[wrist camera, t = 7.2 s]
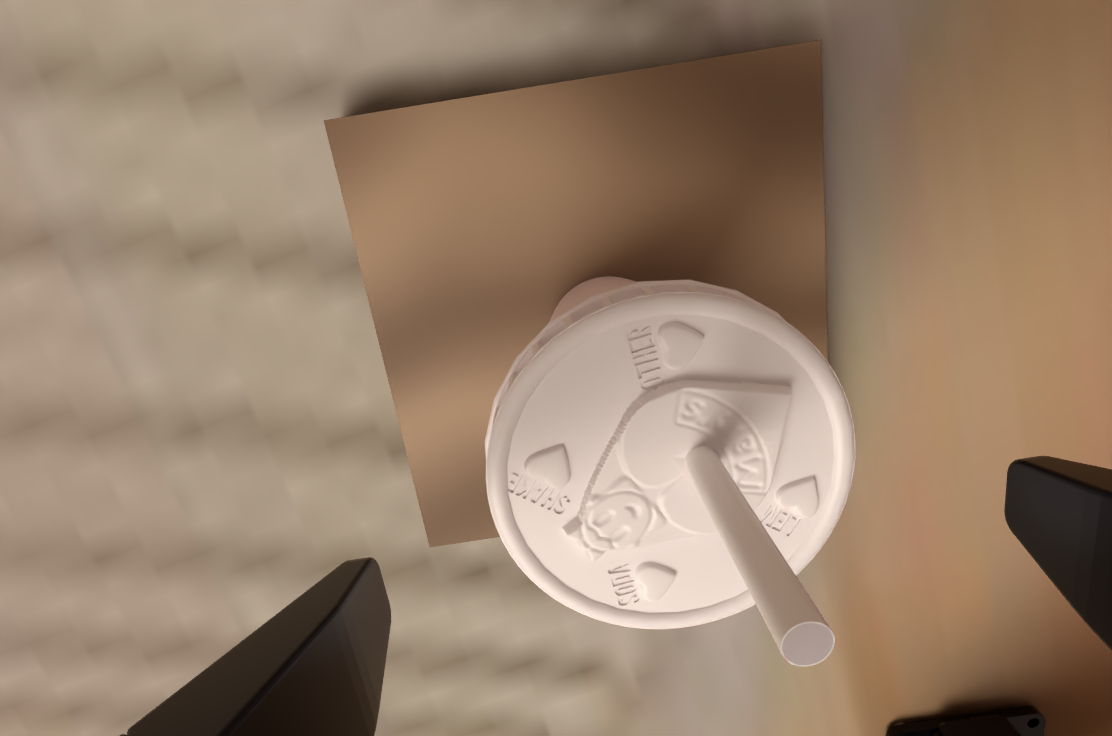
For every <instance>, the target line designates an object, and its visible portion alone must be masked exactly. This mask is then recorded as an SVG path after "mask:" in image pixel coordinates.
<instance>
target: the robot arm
mask: <svg viewBox="0 0 1112 736" xmlns="http://www.w3.org/2000/svg"><path fill="white" fill-rule="evenodd" d="M1005 518H1006V521H1007V524H1008V526H1009V528H1010V530H1011V531H1012V533H1013V534H1014V535H1015V536H1016V537H1017V539H1018V540H1019V541H1020V542H1021V544H1022V545H1023V546H1024V547H1025V549H1026V550H1027V551H1028V552H1029V554H1030V555H1031V556H1032V557H1033V559H1034V560H1035V561H1036V562H1037V564H1038V565H1039V566H1040V567H1041V569H1042V570H1043V571H1044V572H1045V574H1046V575H1047V576H1048V577H1049V578H1050V580H1051V581H1052V582H1053V583H1054V585H1055V586H1056V587H1057V588H1058V590H1059V591H1060V592H1061V593H1062V595H1063V596H1064V597H1065V598H1066V600H1067V601H1068V602H1069V603H1070V605H1071V606H1072V607H1073V608H1074V609H1075V611H1076V612H1077V613H1078V614H1079V615H1080V616H1081V618H1082V619H1083V620H1084V621H1085V622H1086V623H1087V625H1088V626H1089V627H1090V628H1091V629H1092V630H1093V631H1094V632H1095V633H1096V634H1097V635H1098V636H1099V638H1100V639H1101V640H1102V641H1103V642H1104V643H1105V644H1106V645H1107V646H1108V647H1109V648H1110V649H1111V650H1112V470H1111V469H1107V468H1102V467H1097V466H1092V465H1087V464H1083V463H1078V462H1073V461H1068V460H1063V459H1059V458H1054V457H1049V456H1036V457H1030V458H1023V459H1018V460H1015V461H1013V462H1012V463H1011V464H1010V466H1009V468H1008V472H1007V484H1006V498H1005ZM390 626H391V609H390V604H389V600H388V596H387V593H386V589H385V586H384V582H383V578H382V575H381V571H380V568H379V565H378V563H377V561H376V560H375V559H374V558H362V559H355V560H348V561H346V562H344V563H342V564H341V565H340V566H338V567H337V568H336V569H335V570H333V571H332V572H331V573H329V574H328V575H327V576H326V577H324V578H323V579H322V580H320V581H319V582H318V583H316V584H315V585H314V586H313V587H311V588H310V589H309V590H307V591H306V592H305V593H304V594H302V595H301V596H300V597H298V598H297V599H296V600H294V601H293V602H292V603H291V604H289V605H288V606H287V607H285V608H284V609H283V610H282V611H280V612H279V613H278V614H276V615H275V616H274V617H272V618H271V619H270V620H269V621H267V622H266V623H265V624H263V625H262V626H261V627H260V628H258V629H257V630H256V631H254V632H253V633H252V634H251V635H249V636H248V637H247V638H245V639H244V640H243V641H241V642H240V643H239V644H238V645H236V646H235V647H234V648H232V649H231V650H230V651H229V652H227V653H226V654H225V655H223V656H222V657H221V658H219V659H218V660H217V661H216V662H214V663H213V664H212V665H210V666H209V667H208V668H207V669H205V670H204V671H203V672H201V673H200V674H199V675H198V676H196V677H195V678H194V679H192V680H191V681H190V682H188V683H187V684H186V685H185V686H183V687H182V688H181V689H179V690H178V691H177V692H176V693H174V694H173V695H172V696H170V697H169V698H168V699H166V700H165V701H164V702H163V703H161V704H160V705H159V706H157V707H156V708H155V709H154V710H152V711H151V712H150V713H148V714H147V715H146V716H144V717H143V718H142V719H141V720H139V721H138V722H137V723H135V724H134V725H133V726H132V727H130V728H129V729H128V731H127V735H126V734H121V735H120V736H374V734H375V730H376V725H377V719H378V713H379V707H380V699H381V692H382V684H383V677H384V670H385V662H386V655H387V648H388V640H389V633H390ZM1044 729H1045V718H1044V716H1043V715H1042V714H1041V713H1040V712H1039V711H1038V710H1037V709H1036V708H1035V707H1033V706H1024V707H1017V708H1010V709H1003V710H996V711H990V712H983V713H976V714H969V715H962V716H955V717H948V718H942V719H935V720H928V721H921V722H914V723H907V724H901V725H896V726H893V727H892V728H890V729H889V730H888V732H887V734H886V736H1044Z"/></svg>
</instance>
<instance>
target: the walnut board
mask: <svg viewBox="0 0 1112 736" xmlns="http://www.w3.org/2000/svg"><path fill="white" fill-rule="evenodd" d="M324 123H325V127H326V131H327V135H328V139H329V143H330V147H331V151H332V155H333V159H334V164H335V168H336V172H337V176H338V180H339V184H340V188H341V192H342V196H343V200H344V204H345V208H346V212H347V216H348V220H349V224H350V228H351V232H352V236H353V240H354V244H355V248H356V252H357V256H358V260H359V264H360V268H361V272H362V276H363V280H364V284H365V288H366V292H367V296H368V300H369V304H370V308H371V312H372V316H373V320H374V324H375V328H376V333H377V337H378V341H379V345H380V349H381V353H382V357H383V361H384V365H385V369H386V373H387V377H388V381H389V385H390V389H391V393H392V397H393V401H394V405H395V409H396V413H397V417H398V421H399V425H400V429H401V433H402V437H403V441H404V445H405V449H406V453H407V457H408V461H409V465H410V469H411V473H412V477H413V481H414V485H415V489H416V493H417V497H418V502H419V506H420V510H421V514H422V518H423V522H424V526H425V530H426V534H427V538H428V542H429V546H430V547H435V546H442V545H448V544H455V543H462V542H468V541H475V540H481V539H488V538H494V537H500V535H499V533H498V531H497V528H496V526H495V523H494V520H493V517H492V514H491V511H490V506H489V501H488V496H487V487H486V453H485V438H486V433H487V429H488V424H489V419H490V415H491V410H492V405H493V401H494V398H495V396H496V394H497V392H498V390H499V388H500V386H501V385H502V383H503V381H504V379H505V377H506V375H507V373H508V371H509V369H510V368H511V366H512V364H513V362H514V360H515V358H516V357H517V356H518V355H519V354H520V353H521V352H522V351H523V350H524V348H525V347H526V346H527V345H528V344H529V343H530V342H531V341H532V340H533V339H534V338H535V337H536V336H537V335H538V334H539V333H540V332H541V330H542V329H543V328H544V327H545V326H546V325H547V324H548V323H549V321H550V319H551V317H552V314H553V312H554V310H555V308H556V307H557V305H558V303H559V302H560V301H561V299H562V298H563V297H564V296H565V295H566V294H567V293H568V292H569V291H570V290H571V289H573V288H574V287H575V286H577V285H579V284H580V283H583V282H585V281H587V280H590V279H593V278H597V277H605V276H613V277H621V278H625V279H629V280H632V281H636V282H641V281H666V280H694V281H698V282H702V283H707V284H711V285H715V286H720V287H724V288H729V289H733V290H737V291H739V292H741V293H743V294H744V295H746V296H748V297H750V298H752V299H753V300H755V301H757V302H759V303H761V304H763V305H764V306H766V307H768V308H770V309H772V310H773V311H775V312H777V313H779V315H780V316H781V317H782V318H783V319H784V320H785V321H786V322H787V323H789V324H790V325H792V326H793V327H794V328H796V329H797V330H798V331H799V332H801V333H802V334H803V335H804V336H805V337H806V338H807V339H808V340H809V341H810V342H811V343H812V344H813V345H814V346H815V347H816V348H817V349H818V350H819V351H820V352H821V354H822V355H823V356H824V357H825V359H826V360H827V361H828V349H827V300H826V250H825V201H824V152H823V102H822V53H821V40H817V41H810V42H804V43H798V44H792V45H786V46H780V47H773V48H767V49H761V50H755V51H749V52H743V53H736V54H730V55H724V56H718V57H712V58H706V59H700V60H693V61H687V62H681V63H675V64H669V65H663V66H656V67H650V68H644V69H638V70H632V71H626V72H619V73H613V74H607V75H601V76H595V77H589V78H583V79H576V80H570V81H564V82H558V83H552V84H546V85H539V86H533V87H527V88H521V89H515V90H509V91H502V92H496V93H490V94H484V95H478V96H472V97H466V98H459V99H453V100H447V101H441V102H435V103H429V104H422V105H416V106H410V107H404V108H398V109H392V110H385V111H379V112H373V113H367V114H361V115H355V116H349V117H342V118H336V119H330V120H324Z"/></svg>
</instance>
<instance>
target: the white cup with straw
mask: <svg viewBox="0 0 1112 736" xmlns="http://www.w3.org/2000/svg"><path fill="white" fill-rule="evenodd" d="M485 453H486V487H487V496H488V501H489V506H490V511H491V514H492V517H493V520H494V523H495V526H496V528H497V531H498V533H499V535H500V537H501V540H502V542H503V543H504V545H505V547H506V549H507V550H508V552H509V554H510V555H511V557H512V558H513V559H514V561H515V562H516V563H517V565H518V566H519V567H520V569H521V570H522V571H523V572H524V573H525V574H526V575H527V576H528V577H529V579H530V580H532V581H533V582H534V583H535V584H536V585H537V586H538V587H539V588H540V589H542V590H543V591H544V592H546V593H547V594H548V595H550V596H551V597H552V598H554V599H555V600H557V601H558V602H560V603H562V604H563V605H565V606H567V607H568V608H571V609H573V610H575V611H577V612H579V613H581V614H583V615H586V616H588V617H591V618H594V619H597V620H600V621H603V622H607V623H611V624H615V625H620V626H625V627H632V628H642V629H672V628H682V627H689V626H696V625H700V624H704V623H709V622H713V621H716V620H719V619H722V618H725V617H728V616H731V615H733V614H736V613H738V612H741V611H743V610H745V609H747V608H749V607H751V606H753V605H755V604H756V605H757V607H758V609H759V611H760V613H761V615H762V617H763V619H764V621H765V623H766V625H767V627H768V629H769V631H770V632H771V634H772V636H773V638H774V640H775V642H776V644H777V646H778V648H779V650H780V652H781V654H782V656H783V657H784V659H785V660H786V661H788V662H789V663H791V664H793V665H796V666H801V667H806V666H812V665H815V664H818V663H820V662H822V661H823V660H824V659H826V658H827V657H828V656H829V655H830V653H831V652H832V650H833V648H834V644H835V637H834V634H833V632H832V631H831V629H830V627H829V626H828V624H827V623H826V621H825V620H824V618H823V617H822V615H821V614H820V612H819V611H818V609H817V607H816V606H815V604H814V603H813V601H812V600H811V598H810V597H809V595H808V594H807V592H806V591H805V589H804V588H803V586H802V584H801V583H800V581H799V580H798V578H797V577H796V575H797V574H798V573H800V572H801V570H802V569H803V568H804V567H805V566H806V565H807V564H808V563H809V562H810V561H811V560H812V559H813V558H814V556H815V555H816V554H817V553H818V551H819V550H820V549H821V548H822V546H823V545H824V543H825V542H826V540H827V539H828V537H829V536H830V534H831V533H832V531H833V529H834V527H835V525H836V523H837V521H838V520H839V517H840V515H841V513H842V510H843V508H844V506H845V503H846V500H847V497H848V494H849V491H850V487H851V482H852V477H853V472H854V463H855V433H854V425H853V419H852V415H851V411H850V406H849V404H848V401H847V398H846V395H845V392H844V390H843V388H842V386H841V384H840V381H839V379H838V377H837V375H836V374H835V372H834V371H833V369H832V367H831V366H830V364H829V363H828V361H827V360H826V359H825V357H824V356H823V355H822V354H821V352H820V351H819V350H818V349H817V348H816V347H815V346H814V345H813V344H812V343H811V342H810V341H809V340H808V339H807V338H806V337H805V336H804V335H803V334H802V333H801V332H799V331H798V330H797V329H796V328H794V327H793V326H792V325H790V324H789V323H787V322H786V321H785V320H784V319H783V318H782V317H781V316H780V315H779V313H777V312H775V311H773V310H772V309H770V308H768V307H766V306H764V305H763V304H761V303H759V302H757V301H755V300H753V299H752V298H750V297H748V296H746V295H744V294H743V293H741V292H739V291H737V290H733V289H729V288H724V287H720V286H715V285H711V284H707V283H702V282H698V281H694V280H666V281H641V282H636V281H632V280H629V279H625V278H621V277H613V276H605V277H597V278H593V279H590V280H587V281H585V282H583V283H580V284H579V285H577V286H575V287H574V288H573V289H571V290H570V291H569V292H568V293H567V294H566V295H565V296H564V297H563V298H562V299H561V301H560V302H559V303H558V305H557V307H556V308H555V310H554V312H553V314H552V317H551V319H550V321H549V323H548V324H547V325H546V326H545V327H544V328H543V329H542V330H541V332H540V333H539V334H538V335H537V336H536V337H535V338H534V339H533V340H532V341H531V342H530V343H529V344H528V345H527V346H526V347H525V348H524V350H523V351H522V352H521V353H520V354H519V355H518V356H517V357H516V358H515V360H514V362H513V364H512V366H511V368H510V369H509V371H508V373H507V375H506V377H505V379H504V381H503V383H502V385H501V386H500V388H499V390H498V392H497V394H496V396H495V398H494V401H493V405H492V410H491V415H490V419H489V424H488V429H487V433H486V438H485Z"/></svg>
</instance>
